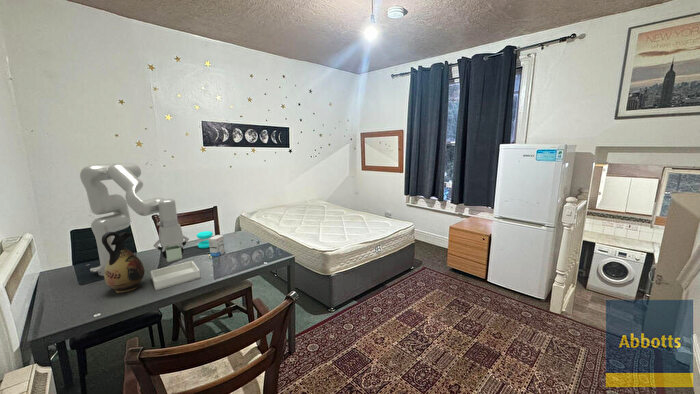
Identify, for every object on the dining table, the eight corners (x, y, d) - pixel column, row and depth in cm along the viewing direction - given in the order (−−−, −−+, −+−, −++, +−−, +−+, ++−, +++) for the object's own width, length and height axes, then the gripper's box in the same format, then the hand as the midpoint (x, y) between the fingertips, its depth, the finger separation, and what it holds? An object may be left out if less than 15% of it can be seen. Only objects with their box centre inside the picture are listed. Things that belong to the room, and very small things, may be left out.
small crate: (167, 262, 142) (166, 250, 141) (165, 258, 147) (164, 247, 146) (182, 258, 146) (180, 247, 145) (179, 255, 151) (178, 244, 150)
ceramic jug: (133, 278, 149) (125, 224, 143) (153, 283, 143) (145, 227, 137) (95, 294, 133) (84, 234, 127) (115, 301, 127) (105, 238, 122)
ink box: (216, 256, 177) (215, 239, 175) (209, 256, 178) (208, 238, 176) (225, 251, 185) (223, 235, 183) (218, 251, 186) (217, 234, 184)
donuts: (193, 235, 188) (200, 230, 198) (195, 249, 190) (202, 244, 200) (208, 234, 189) (215, 230, 199) (210, 248, 191) (216, 243, 201)
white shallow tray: (155, 290, 136) (154, 282, 136) (151, 278, 148) (150, 271, 147) (200, 278, 149) (199, 270, 149) (193, 268, 161) (192, 260, 160)
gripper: (149, 228, 135) (154, 263, 138) (189, 221, 146) (193, 253, 149) (147, 224, 140) (152, 258, 144) (186, 218, 151) (190, 250, 155)
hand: (173, 255), depth 146 cm, fingers closed on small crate, 6 cm apart
